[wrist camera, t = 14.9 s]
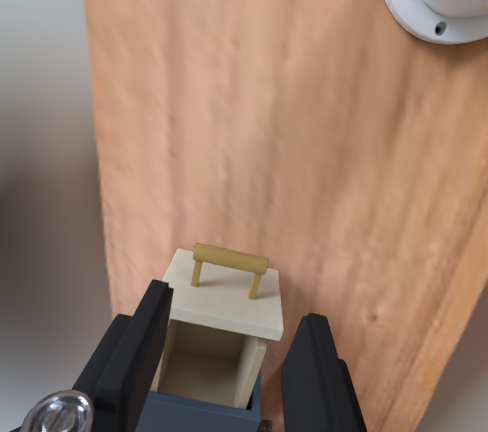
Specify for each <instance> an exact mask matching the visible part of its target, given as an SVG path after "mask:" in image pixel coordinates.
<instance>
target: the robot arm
mask: <svg viewBox="0 0 488 432" xmlns="http://www.w3.org/2000/svg"><path fill="white" fill-rule="evenodd" d="M385 2H386V5H387V6H388V8H389V10H390V11H391V13H392V15H393V16H394V18H395V19H396V20H397V21H398V23H399V24H400V25H401V26H402V27H403V28H404V29H405V30H406V31H408V32H409V33H411V34H413V35H414V36H416V37H417V38H419V39H422V40H425V41H428V42H431V43H435V44H446V45H452V44H461V43H468V42H472V41H476V40H480V39H484V38H486V37H488V0H385ZM436 27H437V28H438V32H437V34H436V32H435V29H436ZM173 292H174V288H171V287H169V283H168V282H163V281H159V280H154V279H153V280H152V281H151V283H150V285H149V287H148V289H147V291H146V293H145V294H144V296H143V298H142V300H141V302H140V304H139V306H138V308H137V309H136V311H135V313H134V315H133V316H128V315H124V314H118V315H117V316H116V317H115V319H114V320H113V322H112V323H111V325H110V327H109V328H108V330H107V332H106V334H105V335H104V337H103V338H102V340H101V342H100V343H99V345H98V346H97V348H96V350H95V351H94V353H93V355H92V357H91V358H90V360H89V361H88V363H87V365H86V366H85V368H84V370H83V371H82V373H81V375H80V376H79V378H78V379H77V381H76V383H75V384H74V386H73V388H72V389H71V390H64V391H58V392H56V393H53V394H51V395H48V396H47V397H45V398H44V399H42V400H41V401H39V402H38V403H37V404H36V405H35V406H34V407H33V408H32V409H31V410H30V411H29V413H28V414H27V416H26V418H25V419H24V421H23V424H22V426H20V427H18V428H16V429H14V430H12V431H10V432H135V430H136V427H137V424H138V422H139V419H140V416H141V413H142V410H143V407H144V405H145V402H146V399H147V396H148V393H149V390H150V388H151V385H152V382H153V379H154V376H155V373H156V371H157V368H158V365H159V362H160V359H161V356H162V353H163V350H164V346H165V341H166V335H167V329H168V323H169V316H170V310H171V304H172V298H173ZM281 387H282V400H283V414H284V428H285V432H367V429H366V426H365V423H364V419H363V416H362V413H361V410H360V406H359V403H358V400H357V397H356V393H355V390H354V387H353V384H352V380H351V377H350V374H349V371H348V367H347V365H346V363H345V361H344V360H342V359H339V358H338V355H337V351H336V348H335V344H334V341H333V337H332V334H331V330H330V327H329V323H328V320H327V317H326V316H323V315H318V314H314V313H309V314H308V316H303V317H302V319H301V322H300V324H299V327H298V329H297V332H296V334H295V337H294V339H293V342H292V344H291V347H290V349H289V352H288V354H287V357H286V359H285V362H284V364H283V367H282V371H281Z"/></svg>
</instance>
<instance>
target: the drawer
mask: <svg viewBox="0 0 488 432" xmlns="http://www.w3.org/2000/svg"><path fill="white" fill-rule="evenodd" d="M267 267H268V259H267V258H264V257H259V256H255V255H250V254H246V253H241V252H237V251H232V250H227V249H223V248H218V247H214V246H209V245H205V244H200V243H196V246H195V249H194V252H193V251H189V250H184V249H179V248H178V249H177V251H176V253H175V255H174V257H173V259H172V261H171V263H170V265H169V267H168V269H167V272H166V274H165V276H164V278H163V280H162V281H163V282H168V283H169V287H171V288H174V292H173V298H172V304H171V310H170V316H169V323H168V329H167V335H166V341H165V346H164V350H163V353H162V356H161V359H160V362H159V365H158V368H157V371H156V373H155V376H154V379H153V382H152V385H151V388H150V390H149V391H152V392H157V393H162V394H167V395H173V396H178V397H183V398H188V399H193V400H198V401H204V402H209V403H214V404H219V405H224V406H229V407H234V408H240V409H245V410H246V407H247V404H248V401H249V398H250V396H251V393H252V390H253V387H254V384H255V382H256V379H257V376H258V373H259V370H260V367H261V365H262V362H263V359H264V356H265V353H266V351H267V339H271V340H276V341H280V339H281V337H282V334H283V331H284V327H283V317H282V307H281V297H280V287H279V277H278V270H275V269H271V268H267Z"/></svg>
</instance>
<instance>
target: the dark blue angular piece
mask: <svg viewBox="0 0 488 432" xmlns="http://www.w3.org/2000/svg"><path fill="white" fill-rule="evenodd" d="M260 412H261V378H260V370H259V373H258V376H257V379H256V382H255V384H254V387H253V390H252V393H251V396H250V398H249V401H248V404H247V407H246V410H245V409H240V408H234V407H229V406H224V405H219V404H214V403H209V402H204V401H198V400H193V399H188V398H183V397H178V396H173V395H167V394H162V393H157V392H152V391H149V393H148V396H147V399H146V402H145V405H144V407H143V410H142V413H141V416H140V419H139V422H138V424H137V427H136V430H135V432H257V429H258V426H259V424H260V421H261V413H260Z"/></svg>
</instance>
